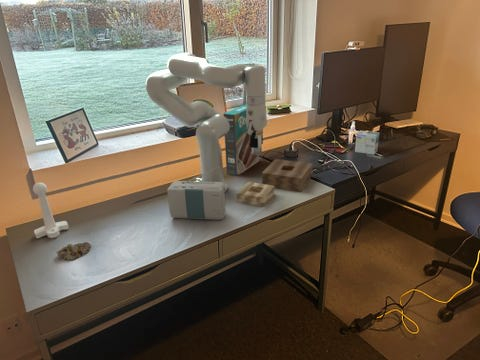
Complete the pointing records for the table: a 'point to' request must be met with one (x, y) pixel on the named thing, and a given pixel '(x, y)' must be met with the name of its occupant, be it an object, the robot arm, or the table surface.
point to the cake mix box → (238, 143)
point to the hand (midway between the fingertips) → (256, 145)
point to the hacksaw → (324, 165)
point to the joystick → (47, 215)
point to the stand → (255, 194)
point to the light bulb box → (367, 142)
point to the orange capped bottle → (258, 150)
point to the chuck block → (287, 175)
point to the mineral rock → (73, 251)
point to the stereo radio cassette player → (197, 199)
